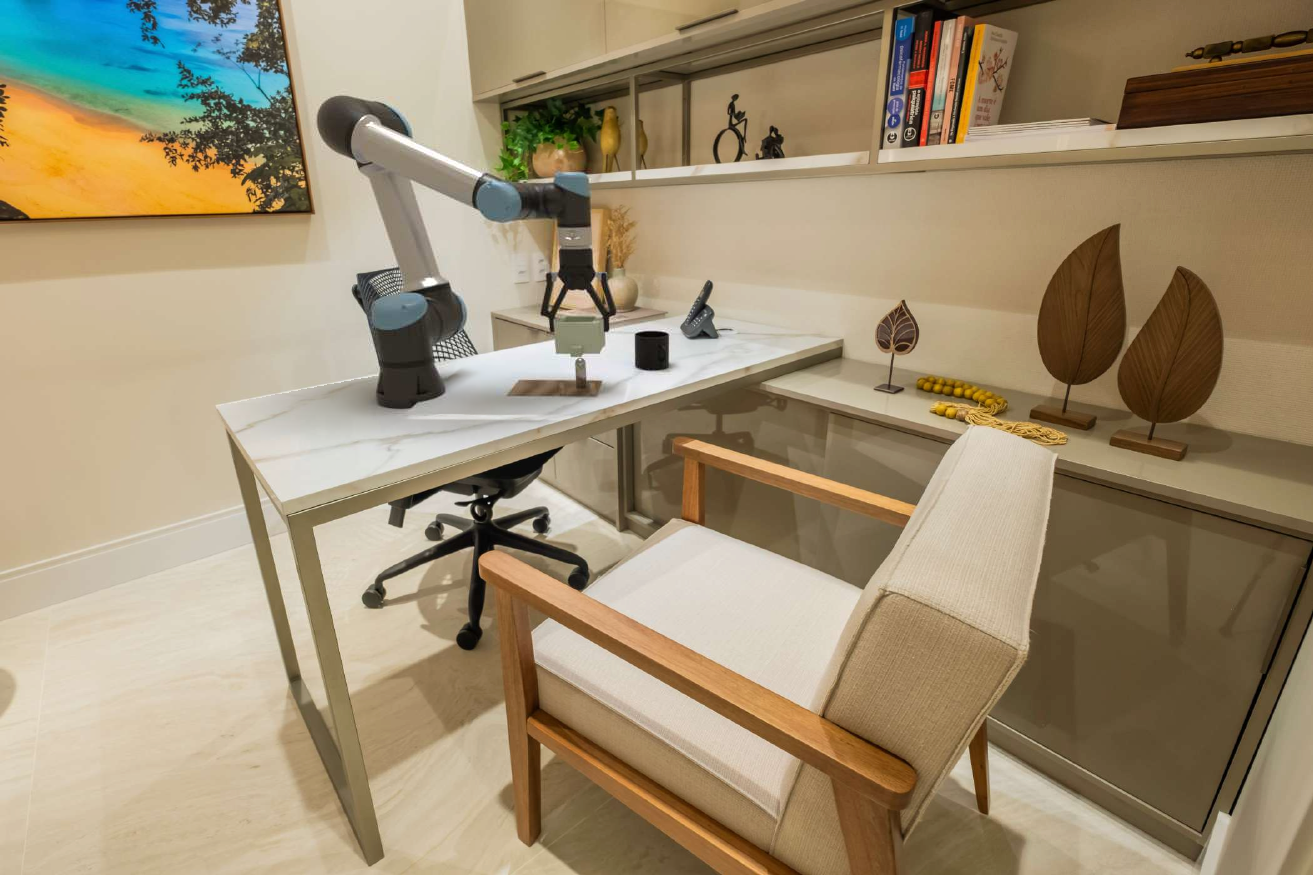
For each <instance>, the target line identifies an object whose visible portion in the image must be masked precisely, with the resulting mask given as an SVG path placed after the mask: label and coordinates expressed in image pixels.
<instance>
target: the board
mask: <svg viewBox="0 0 1313 875" xmlns="http://www.w3.org/2000/svg"><path fill="white" fill-rule="evenodd" d="M586 383H587V388H585V389H578V388H576V379H518V380H517V382H516V383H515V384H514V385H513V387H512V388H511V389H510V391H509V392H508V393H507V394H506V395H505V396H507V397H570V398H572V397H576V398H578V397H579V398H581V397H582V398H583V397H584V398H585V397H587V398H588V397H589V398H590V397H591V398H595V397H596V398H597V397H598V394H599V392H600V388H601V386H602V383H603V379H602V380H600V379H599V380H597V379H596V380H594V379H590V380H588V379H586Z"/></svg>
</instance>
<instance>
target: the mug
mask: <svg viewBox="0 0 1313 875" xmlns="http://www.w3.org/2000/svg"><path fill="white" fill-rule="evenodd" d="M634 366H635V368H637V369H638V370H642V371H643V370H644V371H661V370H665V369H667V368H668V367H670V334H669V333H668V332H666V331H661V330H643V331H638V332H636V333H635V334H634Z"/></svg>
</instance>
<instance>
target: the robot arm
mask: <svg viewBox="0 0 1313 875" xmlns="http://www.w3.org/2000/svg"><path fill="white" fill-rule="evenodd" d="M316 127H317V130H318V134H319V136H320V138H321V140H322V141H323V142H324V143H325V145H326V146H328V147H329V148H330V149H331V150H332V151H334V152H336V153H337V154H339V155H342V156H345V157H347V158H349V159H351V160H353V161H355V164H356V166H357V169H358V172H359V173H360V174H362V175H363V176H365V177H367V178H368V179H369V182H370V185H371V188H372V191H373V195H374V198H375V200H376V204H377V207H378V210H379V213H380V216H381V218H382V221H383V225H384V227H385V230H386V233H387V237H388V240H389V242H390V246H391V248H392V251H393V254H394V256H395V260H396V263H397V266H398V268H399V272H400V275H401V278H402V280H403V286H402V288H401V290H400V292H399V293H395V294H388V295H385V296H382V297H380V298H378V299H376V300H374V302H373V303H372V305H371V324H372V325H373V331H374V332H373V333H374V337H375V338H374V339H375V343H376V344H375V345H376V349H377V355H378V362H379V367H380V368H379V374H378V380H377V386H376V389H375V390H376V391H375V392H376V393H375V395H376V401H377V404H379V405H380V406H383V407H387V408H398V409H399V408H400V409H402V408H405V409H406V408H413V407H414V406H416V405H417V404H418V403H423V402H427V401H430V400H434V399H437V398H439V397H442V396H443V395H444V394H445V393H446V386H445V383H444V381H443V379H442V377H441V375H440V373H439V371H438V369H437V366H436V365H435V360H434V354H433V353H434V352H433V351H434V350H433V346H434V345H437V344H439V343H441V342H444V341H448V340H451V339H452V338H454V337H456V335H458V334H459V333H461V331H463V330H464V327H465V325H466V323H467V321H468V320H467V318H468V310H467V306H466V304H465V302H464V300H463V299H462V297H461V296H460V295H458V294H457V293H456V292H455V291H453V290H452V286H451V283H450V281H449V280H448V279H446V278H445V277H443V276H442V274H440V273H441V272H440V270H439V267H438V264H437V260H436V257H435V254H434V251H433V248H432V245H431V242H430V239H429V238H430V237H429V235H428V232H427V229H426V226H425V225H426V224H425V223H424V219H423V216H422V212H421V210H420V206H419V204H418V201H417V198H416V194H415V190H414V187H413V185H412V182H411V181H413V182H415V183H417V184H419V185H421V186H424V187H426V188H428V189H429V190H433V191H434V192H437V193H440V194H442V195H444V196H447V197H449V198H450V199H453V200H455V201H456V202H459V203H462V204H464V205H467V206H468V207H470V208H473V209H474V210H478V211H479V212H480V214H481V215H482V216H483V217H484V218H485V219H487V220H488V221H491V222H495V223H502V224H503V223H508V222H509V223H510V222H515V221H516V222H517V221H527V220H556V227H557V228H556V229H557V245H558V246H559V247H560V248H559V250H558V262H559V269H558V271H557V272H556V271H555V272H554V271H553V272H552V271H549V272H547V273H546V274H545V278H546V279H545V281H546V285H545V290H544V294H543V300H542V303H541V304H542V305H541V310H540V315H541V316H542V317H544V318H545V317H546V318H547V319H548V322H549V323H548V325H549V331H550V333H554V335H555V332H554V323H555V322H556V321H557V320H558V318H559V317H560V316H559V317H558V316H556V315H557V313H558V311H559V309H560V308H561V305H562V304H563V301H564V299H565V297H566V295H567V293H568V291H576V290H577V291H585V290H586V293H587V294H588V295H589V297H590V299H591V300H592V302H593V303H594V305H595V306H596V308H597V309H598V311H599V313H600V314H601V315H602V316H603V317H601V318H600V330H601V347H602V348H605V346H606V333H609V331H610V318H611V317H614V316H616V315H617V313H618V312H617V308H616V305H615V302H614V298H613V296H612V292H611V290H610V289H611V288H610V286H609V282H608V272H607V271H605V270H604V271H603V272H602V271H601V272H600V271H596V270H595V268H594V256H593V254H594V252H593V248H591V247H590V246H592V245H593V231H592V230H593V229H592V227H593V226H592V215H591V214H592V212H591V211H592V210H591V206H592V205H591V204H592V203H591V197H592V195H591V191H590V180H589V176H588V174H587V173H586V172H579V171H577V172H576V171H575V172H574V171H565V172H561V171H560V172H555V174H554V176H553V181H552V182H519V181H518V182H515V181H507V180H505V179H502V178H500V177H498V176H495V175H494V174H491V173H489V172H486V171H485V170H483V169H480V168H478V167H476V166H473V165H471V164H469V163H467V162H465V161H463V160H459V159H458V158H457V157H456V158H455V157H453V156H452V155H449V154H447V153H444V152H442V151H440V150H438V149H436V148H433V147H432V146H429V145H428V144H424V143H422V142H420V141H418V140H416V139H414V138H413V137H414V136H413V132H412V128H411V126H410V124H409V122H408V120H407V118H406V117H405V116H404V114H402V113H401V112H400V111H399V110H398V109H396V108H394V107H392V106H390V105H388V104H386V103H384V102H380V101H376V100H367V99H364V98H363V99H362V98H358V97H354V96H349V95H344V94H343V95H335V96H332V97H329V98H327V99H326V100H324V101H323V103H321V105H320V107H319V109H318V111H317V114H316ZM557 278H559V280H560V281H561V282H562V284H563V285H562V288H561V289H560V291H559V294H558V296H557V298H556V300H555V302H554V304H553V306H552V307H551V309H550V310H549V308H550V302H551V298H552V295H553V294H552V293H553V290H554V284H555V282H557ZM595 278H597V281H598V282H599V283H600V285H601V287H602V288H601V289H602V290H603V294H604V297H605V300H606V303H607V306H608V309H607V307H606V306H605V305H604V303H603V301H602V300H601V298H600V297H599V295H598V293H597V291H596V290H595V288H594V285H593V284H592V282H593V281H594V279H595ZM554 346H555V345H554ZM555 348H556V346H555Z"/></svg>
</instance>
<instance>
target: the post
mask: <svg viewBox="0 0 1313 875" xmlns="http://www.w3.org/2000/svg"><path fill="white" fill-rule="evenodd" d="M574 365H575V366H574V369H575V371H574V372H575V380H576V388H578V389H585V388H587V383H586V380H587V362H586V360H585V358H583V357H577V358H576V359H575V362H574Z"/></svg>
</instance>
